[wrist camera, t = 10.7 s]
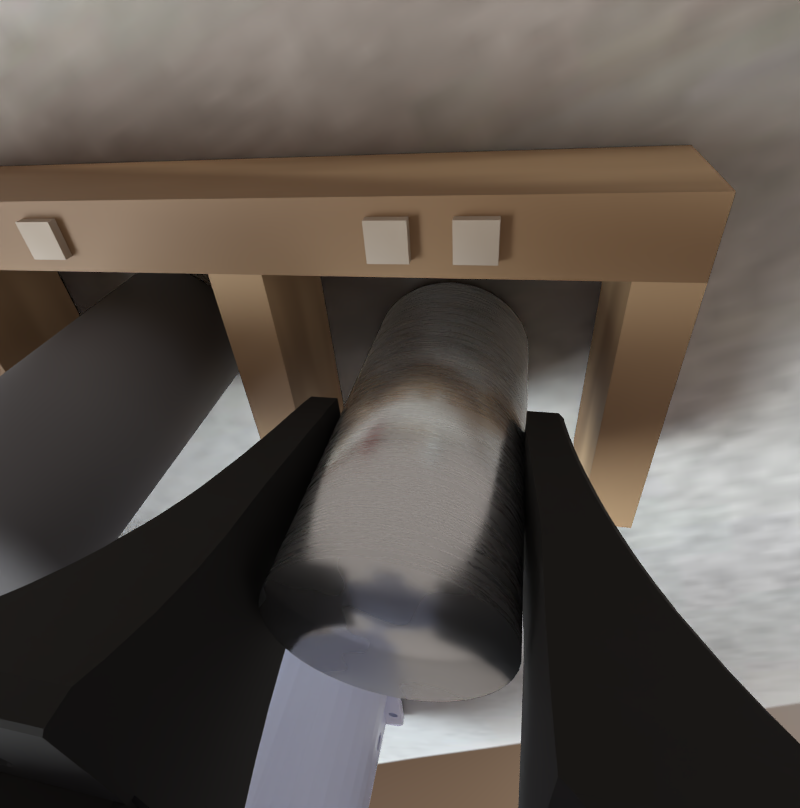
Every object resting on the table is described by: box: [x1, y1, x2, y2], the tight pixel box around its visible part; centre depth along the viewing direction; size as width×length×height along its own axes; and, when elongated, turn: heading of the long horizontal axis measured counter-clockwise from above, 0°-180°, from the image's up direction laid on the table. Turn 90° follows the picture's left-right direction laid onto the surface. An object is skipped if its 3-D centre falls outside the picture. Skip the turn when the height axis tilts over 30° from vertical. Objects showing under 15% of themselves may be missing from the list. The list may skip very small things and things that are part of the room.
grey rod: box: [258, 283, 529, 702], centre depth 11 cm, size 4×4×8 cm
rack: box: [0, 145, 736, 528], centre depth 13 cm, size 8×18×3 cm, turn 94°
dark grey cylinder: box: [0, 273, 239, 596], centre depth 13 cm, size 4×4×8 cm
